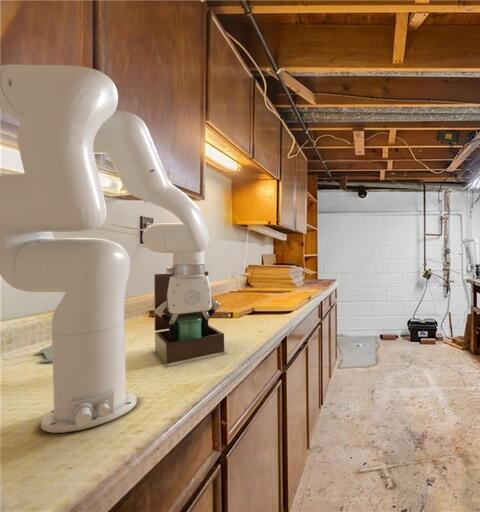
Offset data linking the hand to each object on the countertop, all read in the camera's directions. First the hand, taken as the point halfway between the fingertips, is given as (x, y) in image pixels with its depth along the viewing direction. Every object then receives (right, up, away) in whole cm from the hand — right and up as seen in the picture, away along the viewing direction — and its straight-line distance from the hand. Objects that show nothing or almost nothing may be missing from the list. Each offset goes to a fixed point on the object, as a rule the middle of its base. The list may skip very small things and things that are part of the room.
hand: (189, 334), depth 87 cm
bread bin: (-1, -6, +2) cm, 6 cm away
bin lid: (-6, +9, +6) cm, 12 cm away
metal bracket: (-35, -6, +3) cm, 36 cm away
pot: (0, -3, 0) cm, 3 cm away
